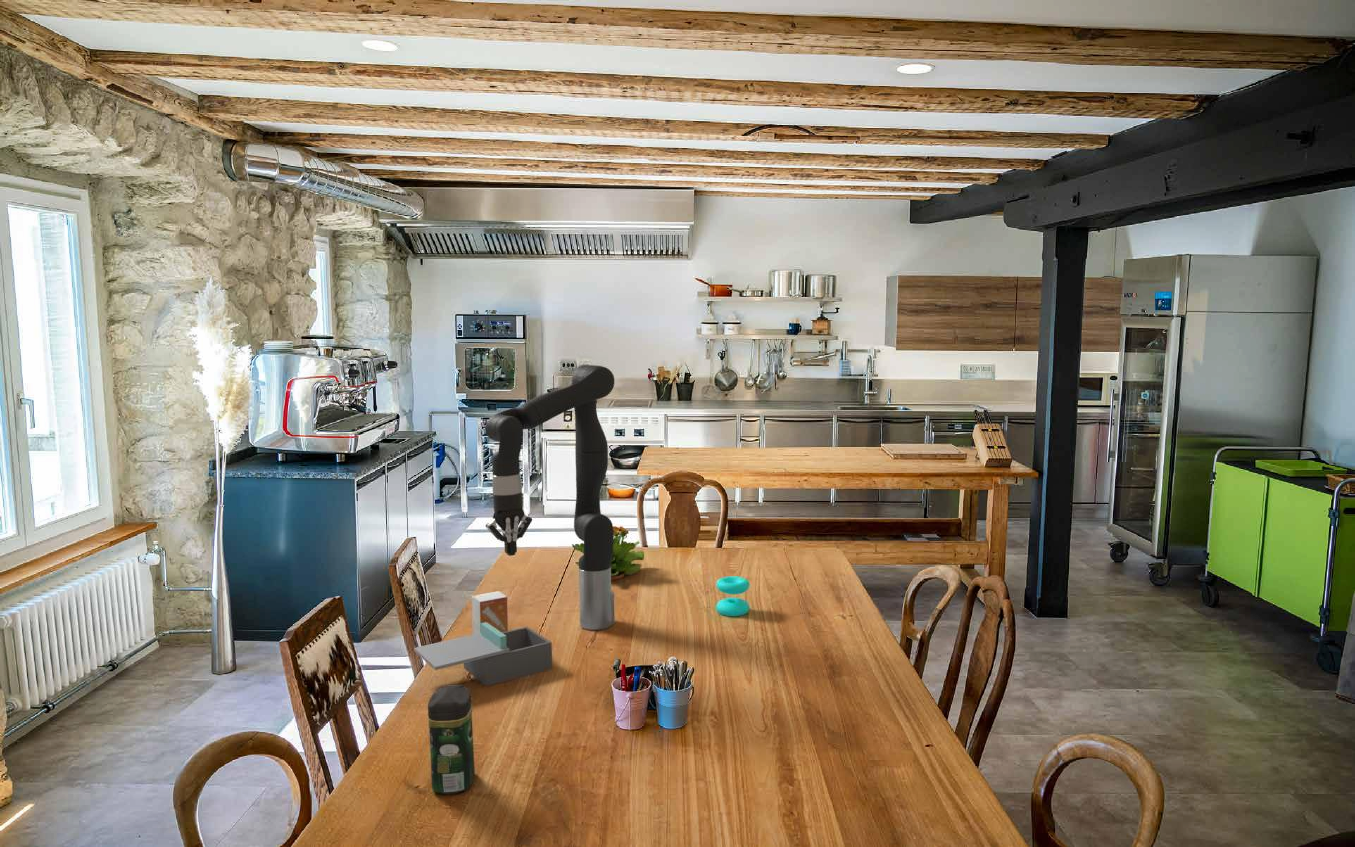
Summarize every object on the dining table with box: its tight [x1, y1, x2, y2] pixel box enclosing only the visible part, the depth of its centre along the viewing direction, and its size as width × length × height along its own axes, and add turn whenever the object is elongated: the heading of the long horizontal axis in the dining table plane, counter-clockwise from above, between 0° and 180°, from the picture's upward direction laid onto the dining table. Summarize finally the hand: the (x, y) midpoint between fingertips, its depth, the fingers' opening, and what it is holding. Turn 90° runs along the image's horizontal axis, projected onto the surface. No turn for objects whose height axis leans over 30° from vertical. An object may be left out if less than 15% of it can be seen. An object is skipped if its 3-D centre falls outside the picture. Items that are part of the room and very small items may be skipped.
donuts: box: [715, 575, 751, 617], centre depth 265 cm, size 10×10×10 cm
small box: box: [471, 590, 509, 635], centre depth 242 cm, size 8×6×13 cm
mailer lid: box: [413, 622, 510, 671], centre depth 216 cm, size 19×15×4 cm
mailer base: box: [463, 626, 553, 687], centre depth 224 cm, size 18×14×7 cm
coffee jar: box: [427, 684, 476, 795], centre depth 168 cm, size 10×8×19 cm
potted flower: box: [571, 525, 645, 581], centre depth 300 cm, size 25×24×18 cm
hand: (510, 554), depth 233 cm, fingers closed
